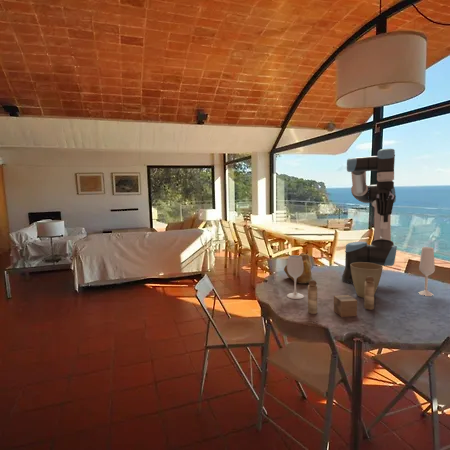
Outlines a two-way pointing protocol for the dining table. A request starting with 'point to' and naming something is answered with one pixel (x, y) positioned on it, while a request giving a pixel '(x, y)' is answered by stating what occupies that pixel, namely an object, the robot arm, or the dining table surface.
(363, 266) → the plant pot
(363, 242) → the robot arm
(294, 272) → the wineglass
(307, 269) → the rough brown rock
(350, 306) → the tan wooden cube
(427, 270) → the champagne flute
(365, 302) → the oak mill
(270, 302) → the dining table surface
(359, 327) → the dining table surface
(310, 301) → the oak mill
